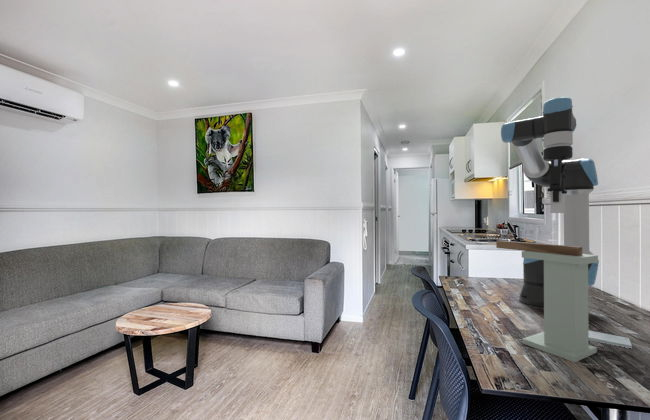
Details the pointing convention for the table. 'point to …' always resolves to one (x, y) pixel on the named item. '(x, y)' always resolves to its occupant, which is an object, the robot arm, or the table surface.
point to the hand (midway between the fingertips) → (557, 213)
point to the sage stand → (564, 306)
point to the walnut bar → (540, 247)
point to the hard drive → (610, 339)
